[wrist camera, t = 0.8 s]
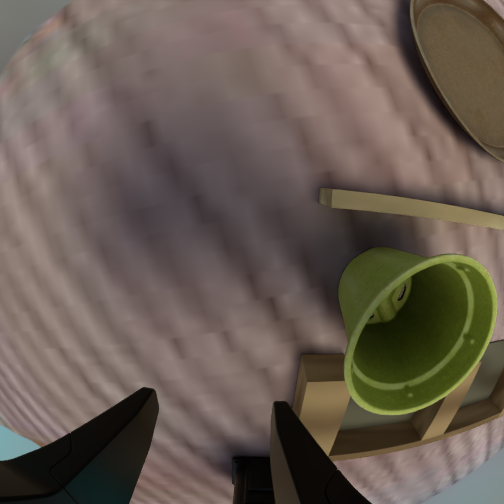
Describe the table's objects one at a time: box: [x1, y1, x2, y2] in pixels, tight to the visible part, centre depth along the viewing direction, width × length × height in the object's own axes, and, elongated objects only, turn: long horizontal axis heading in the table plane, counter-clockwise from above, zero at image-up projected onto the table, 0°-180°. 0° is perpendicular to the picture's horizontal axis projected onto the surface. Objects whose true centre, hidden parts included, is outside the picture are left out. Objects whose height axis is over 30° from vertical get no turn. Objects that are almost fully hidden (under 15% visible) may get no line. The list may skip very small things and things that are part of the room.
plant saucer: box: [410, 0, 504, 163], centre depth 14 cm, size 18×18×3 cm
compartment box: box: [292, 188, 504, 461], centre depth 18 cm, size 23×28×6 cm
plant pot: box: [338, 247, 497, 415], centre depth 16 cm, size 9×9×9 cm
